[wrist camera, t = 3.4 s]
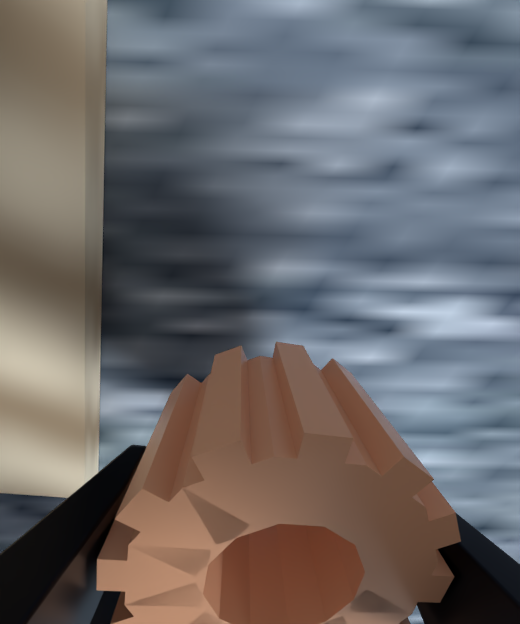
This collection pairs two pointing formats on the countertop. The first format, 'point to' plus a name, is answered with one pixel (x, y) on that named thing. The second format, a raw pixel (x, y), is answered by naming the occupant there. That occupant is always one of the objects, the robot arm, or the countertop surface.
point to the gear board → (51, 242)
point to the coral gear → (276, 505)
